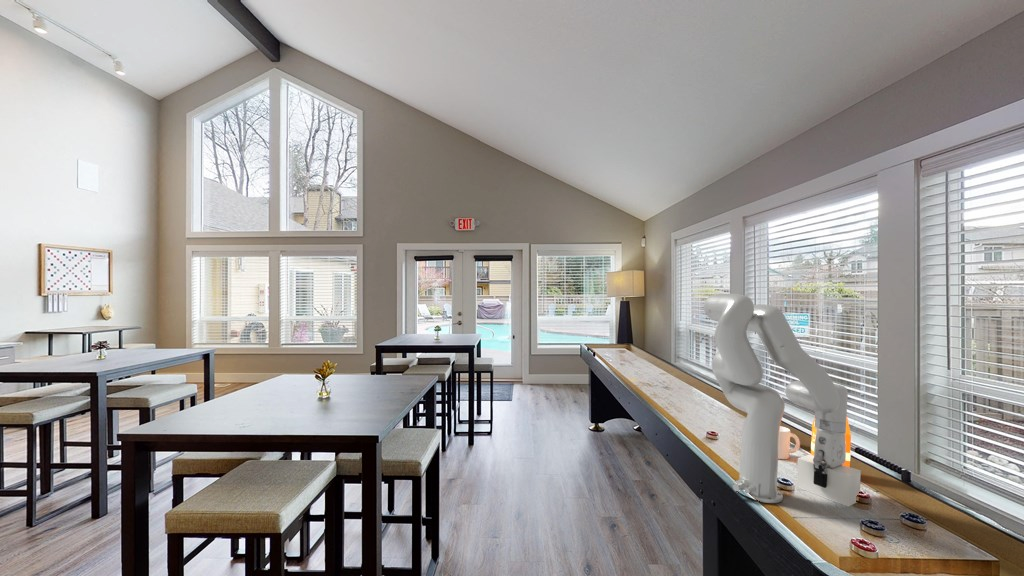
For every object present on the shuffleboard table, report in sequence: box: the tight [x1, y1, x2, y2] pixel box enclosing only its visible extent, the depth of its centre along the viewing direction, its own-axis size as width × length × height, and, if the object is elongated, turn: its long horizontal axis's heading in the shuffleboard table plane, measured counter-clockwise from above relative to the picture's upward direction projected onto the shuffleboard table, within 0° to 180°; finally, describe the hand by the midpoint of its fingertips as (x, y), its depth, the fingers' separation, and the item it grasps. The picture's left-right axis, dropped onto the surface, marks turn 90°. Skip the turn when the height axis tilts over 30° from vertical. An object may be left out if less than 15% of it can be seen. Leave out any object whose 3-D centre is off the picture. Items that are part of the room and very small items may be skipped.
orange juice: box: [810, 417, 852, 467], centre depth 142 cm, size 8×9×20 cm
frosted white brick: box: [795, 453, 862, 508], centre depth 125 cm, size 8×13×9 cm, turn 32°
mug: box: [778, 425, 801, 460], centre depth 154 cm, size 12×8×10 cm
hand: (827, 482), depth 125 cm, fingers open, 9 cm apart
